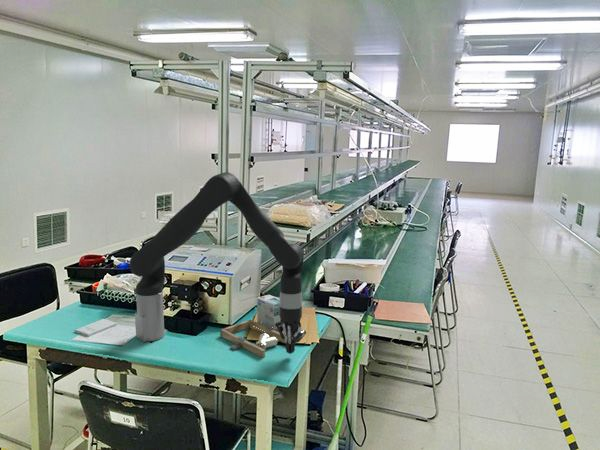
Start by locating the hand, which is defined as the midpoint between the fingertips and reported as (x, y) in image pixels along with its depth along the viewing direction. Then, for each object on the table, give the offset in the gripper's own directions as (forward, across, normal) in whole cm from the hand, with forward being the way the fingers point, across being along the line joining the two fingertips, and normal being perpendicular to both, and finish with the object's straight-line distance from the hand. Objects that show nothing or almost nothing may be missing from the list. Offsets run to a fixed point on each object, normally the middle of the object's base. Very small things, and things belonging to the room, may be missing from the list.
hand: (290, 352), depth 158 cm
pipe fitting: (+2, -11, -1) cm, 11 cm away
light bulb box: (+2, -25, +14) cm, 29 cm away
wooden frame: (+2, -18, 0) cm, 18 cm away
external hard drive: (+2, -68, -38) cm, 78 cm away
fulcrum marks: (+2, -18, 0) cm, 18 cm away
